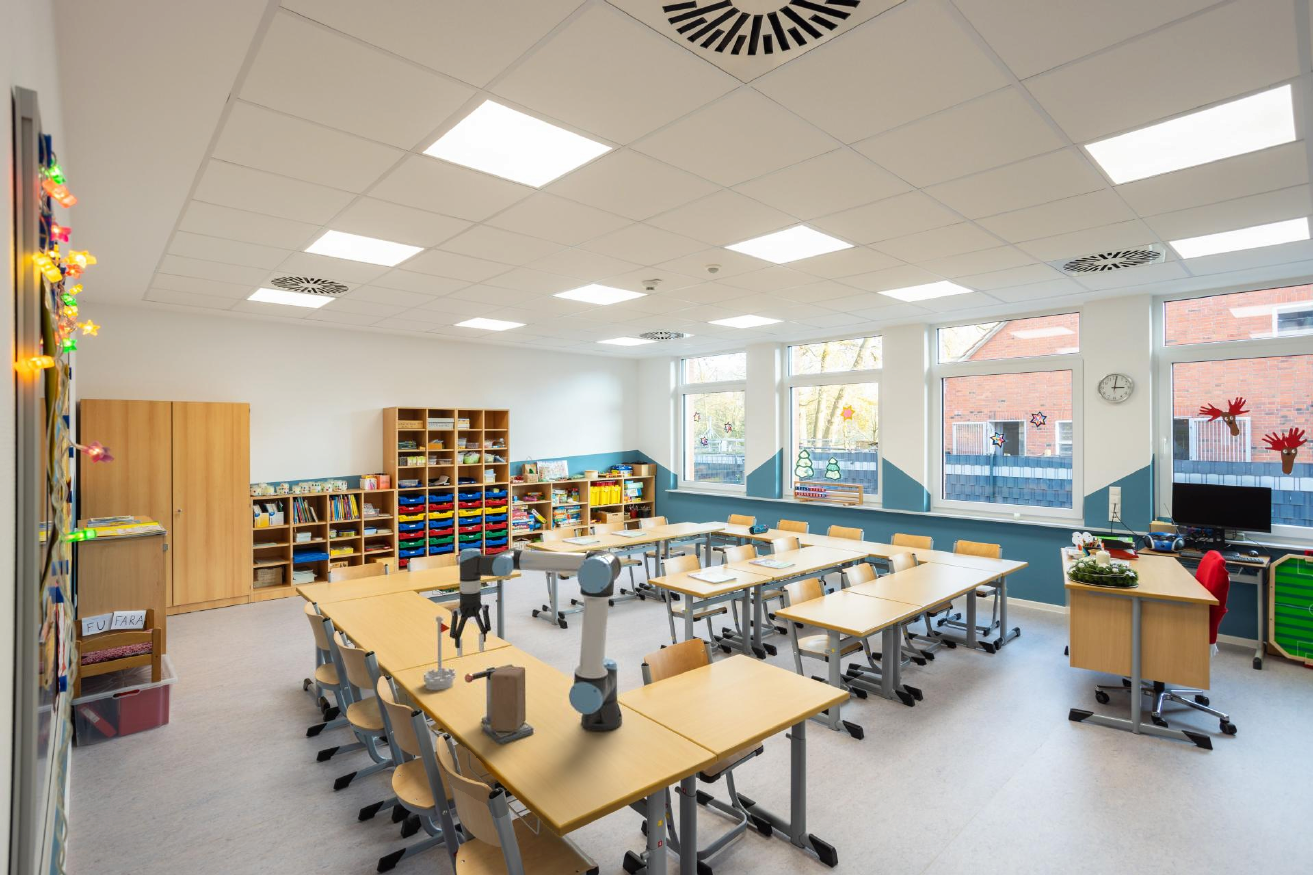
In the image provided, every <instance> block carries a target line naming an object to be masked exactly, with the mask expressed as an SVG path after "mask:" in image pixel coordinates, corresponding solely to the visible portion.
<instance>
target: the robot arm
mask: <svg viewBox="0 0 1313 875" xmlns="http://www.w3.org/2000/svg"><path fill="white" fill-rule="evenodd" d="M458 561H459V562H458V564H459V591H460V592H459V607H458V608H456V609H452V610H450V612H451V623H450V629H449V638H451V639H453V640H454V648H456V649H457V654H456V656H457V657H459V658H463V638H461V636H462V633H463V631H464V630H465V629H464V628H465V626H466V624H467V623H466V622H467V621H468V619H469V618H470V619H471V618H474V619H475V622H476V624H477V626H478V628H479V630H480V632H479V633H478V651H479V652H481V653H484V652H485V643H486V641H487V634H488V632H490V631H491V630H492V626H491V620H490V615H489V609H490V605H489V604H487V603H484V604H482V592H481V590H482V576H483V577H498V578H502V577H510V576H511V575H512V573H513V571H514V570H515V571H530V572H531V571H532V572H533V571H534V572H549V573H550V572H551V573H563V574H564V573H568V574H577V581H578V584H579V586H580V590H579V591H580V592H579V594H580V595H581V596H582V597H583V608H582V609H583V612H582V623H581V624H582V625H581V626H582V627H581V638H580V639H581V640H580V652H579V665H578V666H577V667H576V668H575V669H574V675H573V676H574V677H573V678H574V679H573V685H572V686H571V688H570V691H569V693H568V699H569V703H570V705H571V707H572V708H573V709H574V710H575V711H576V712H578V713H580V714H581V717H580V720H581V721H580V722H581V723H580V725H581V726H582V728H584V729H585V730H588V731H591V732H607V731H611V730H612V731H613V730H614V729H615V730H616V729H617V728H619V727H620V726H621V725H622V724H623V715H622V712H621V709H620V706H619V702H618V666H617V665H618V664H617V662H616V661H615V660H614V659H610V658H605V655H606V654H605V653H606V642H607V641H606V640H607V629H608V627H607V625H608V614H609V600H610V599H611V598H612V597H613V596H614V592H615V590H614V589H615V581H616V580H617V579H618V578H619V577H620V575H621V572H622V562H621V560H620V558H619V557H618V555H617V554H616V553H614V552H612V551H610V550H609V551H608V550H588V551H586V553H585V552H570V551H569V552H567V551H566V552H565V551H548V550H547V551H546V550H545V551H544V550H525V549H524V550H523V549H520V548H518V547H513V548H512V547H511V548H508V549H506V550H504V551H501V552H498V553H496V554H482V552H481V549H480V548H478V547H477V548H476V547H475V548H474V547H472V548H470V547H469V548H463V549H461V551H459V560H458ZM481 610H482V615H483V620H482V616H481V614H480V611H481ZM460 613H461V615H460V619H459V614H460ZM458 620H459V623H458Z"/></svg>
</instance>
